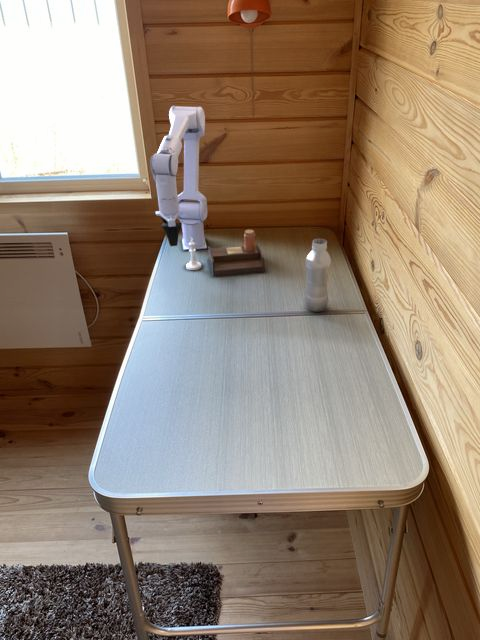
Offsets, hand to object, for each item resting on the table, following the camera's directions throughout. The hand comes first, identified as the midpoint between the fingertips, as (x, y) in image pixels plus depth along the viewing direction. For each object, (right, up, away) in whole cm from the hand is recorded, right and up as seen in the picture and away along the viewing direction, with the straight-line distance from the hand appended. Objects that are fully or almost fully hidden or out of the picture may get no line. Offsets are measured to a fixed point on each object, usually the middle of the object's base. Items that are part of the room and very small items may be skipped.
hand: (172, 240), depth 157 cm
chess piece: (+5, -7, +8) cm, 12 cm away
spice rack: (+19, -6, +9) cm, 22 cm away
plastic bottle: (+42, -22, -13) cm, 50 cm away
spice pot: (+23, -1, +10) cm, 25 cm away
